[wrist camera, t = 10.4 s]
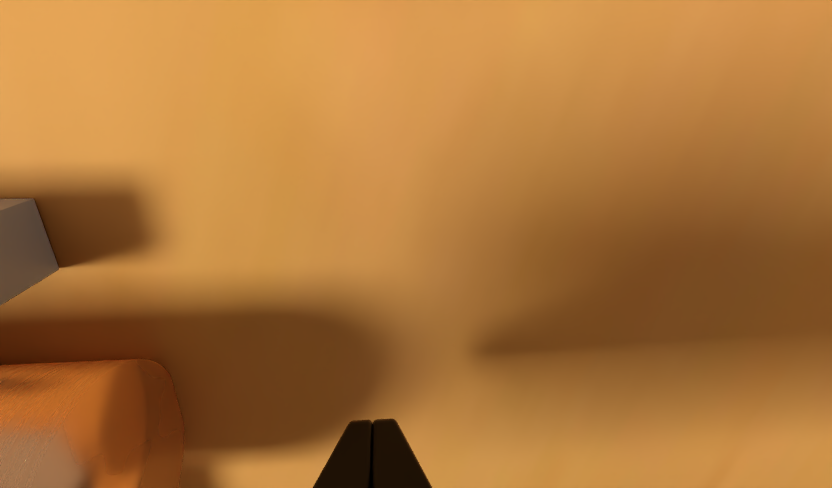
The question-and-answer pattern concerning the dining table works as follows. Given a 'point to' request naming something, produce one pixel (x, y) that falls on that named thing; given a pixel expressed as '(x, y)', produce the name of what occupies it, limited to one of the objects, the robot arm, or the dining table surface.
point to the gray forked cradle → (22, 248)
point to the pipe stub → (89, 425)
